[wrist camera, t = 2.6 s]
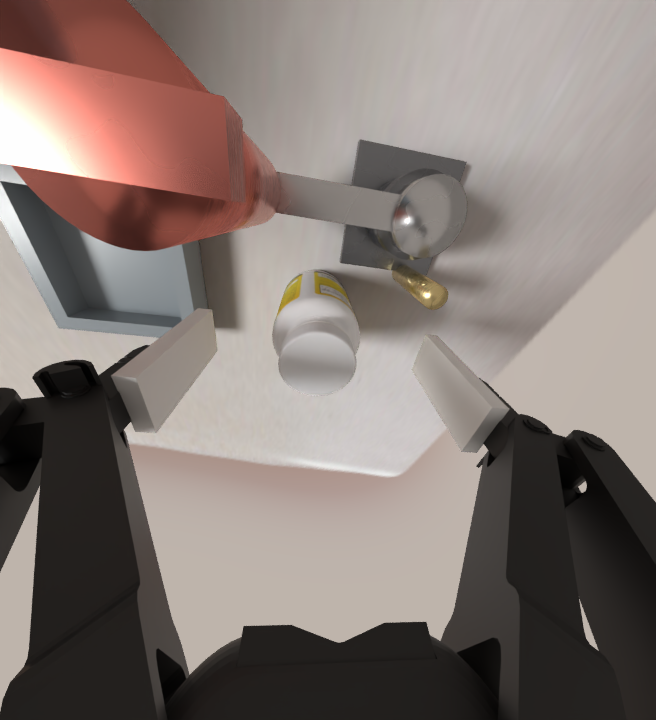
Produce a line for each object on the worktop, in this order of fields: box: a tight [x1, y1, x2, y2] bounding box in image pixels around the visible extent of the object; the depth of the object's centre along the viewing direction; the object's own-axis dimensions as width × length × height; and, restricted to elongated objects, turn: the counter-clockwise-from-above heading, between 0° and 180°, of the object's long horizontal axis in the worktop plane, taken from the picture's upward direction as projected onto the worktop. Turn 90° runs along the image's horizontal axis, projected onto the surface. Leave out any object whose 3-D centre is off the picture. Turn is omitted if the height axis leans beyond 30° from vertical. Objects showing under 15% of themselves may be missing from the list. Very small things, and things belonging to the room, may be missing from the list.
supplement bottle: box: [272, 270, 360, 396], centre depth 16 cm, size 5×5×10 cm
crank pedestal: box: [340, 140, 466, 310], centre depth 14 cm, size 7×8×6 cm
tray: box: [0, 163, 208, 338], centre depth 16 cm, size 10×10×2 cm
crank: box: [0, 0, 467, 258], centre depth 8 cm, size 13×4×11 cm, turn 82°
